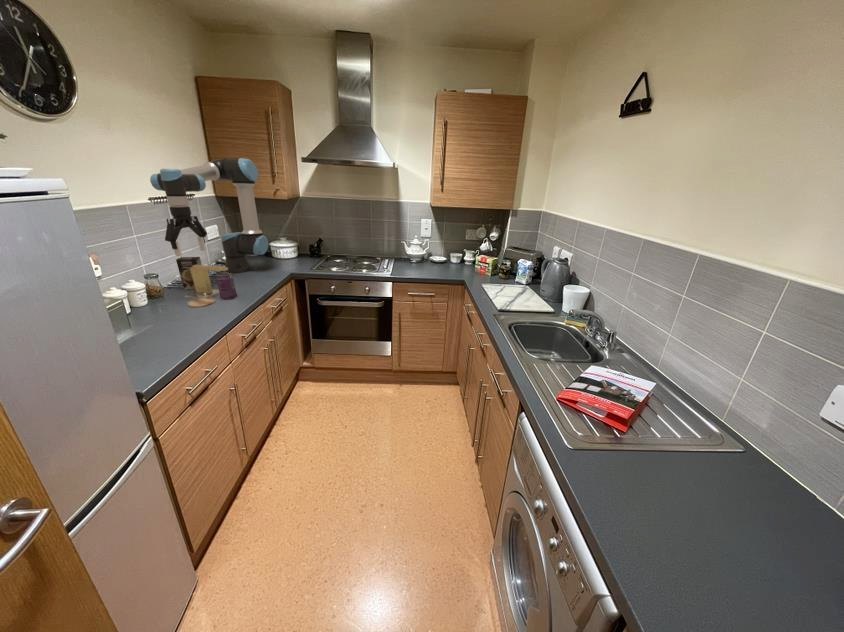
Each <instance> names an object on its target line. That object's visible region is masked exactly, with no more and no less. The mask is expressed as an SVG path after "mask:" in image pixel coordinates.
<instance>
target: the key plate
mask: <svg viewBox="0 0 844 632" xmlns="http://www.w3.org/2000/svg"><path fill="white" fill-rule="evenodd" d="M212 291H213V292H211V293H198V292H196V291H194V292H191V293H189V294H186V295H184V298H186V299H193V300H195V299H199V298H214V297H216V296H220V293H219V289H216V288H215V289H214V288H212Z"/></svg>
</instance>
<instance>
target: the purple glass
mask: <svg viewBox="0 0 844 632" xmlns="http://www.w3.org/2000/svg"><path fill="white" fill-rule="evenodd" d="M215 279H216V284H217V290H219V293H220V294H219V296H220V297H219V298H221V299H223V300H230V299H234V298H236V297H237V296H238V295H237V289H236V285H235V280H234V277H233V275H232V273H229V272H226V271H223V272H220V273H217V274H216V278H215Z"/></svg>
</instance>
